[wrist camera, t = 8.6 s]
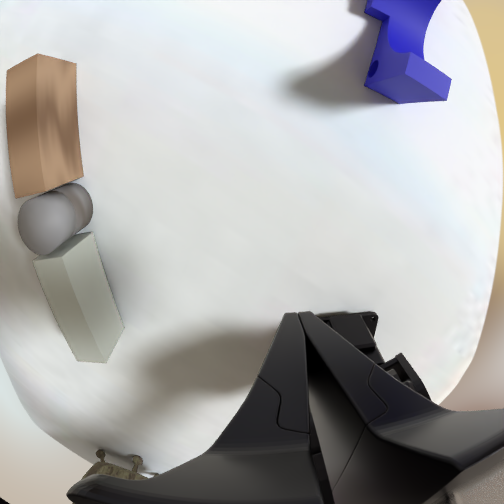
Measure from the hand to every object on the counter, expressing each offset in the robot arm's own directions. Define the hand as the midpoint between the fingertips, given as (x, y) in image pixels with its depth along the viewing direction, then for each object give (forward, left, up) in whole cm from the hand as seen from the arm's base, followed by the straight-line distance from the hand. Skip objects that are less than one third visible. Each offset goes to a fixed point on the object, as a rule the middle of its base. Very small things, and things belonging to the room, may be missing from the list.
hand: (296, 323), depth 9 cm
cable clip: (+15, -10, -12) cm, 22 cm away
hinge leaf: (-3, +15, -12) cm, 19 cm away
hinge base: (+7, +15, -12) cm, 20 cm away
